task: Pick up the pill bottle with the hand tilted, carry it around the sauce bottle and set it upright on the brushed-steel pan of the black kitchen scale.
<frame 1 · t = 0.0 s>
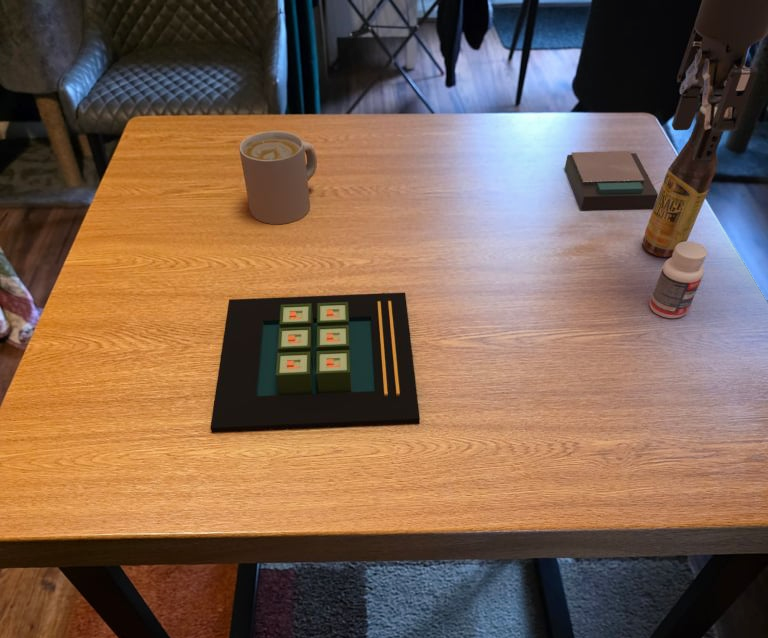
hand: (690, 144, 80), 19 cm above the table, tool pointing down, fingers open, 8 cm apart
scale: (607, 188, 112), on the table
coffee mug: (289, 206, 110), on the table
sushi: (317, 360, 87), on the table
pill bottle: (667, 308, 92), on the table
sauce bottle: (661, 250, 101), on the table
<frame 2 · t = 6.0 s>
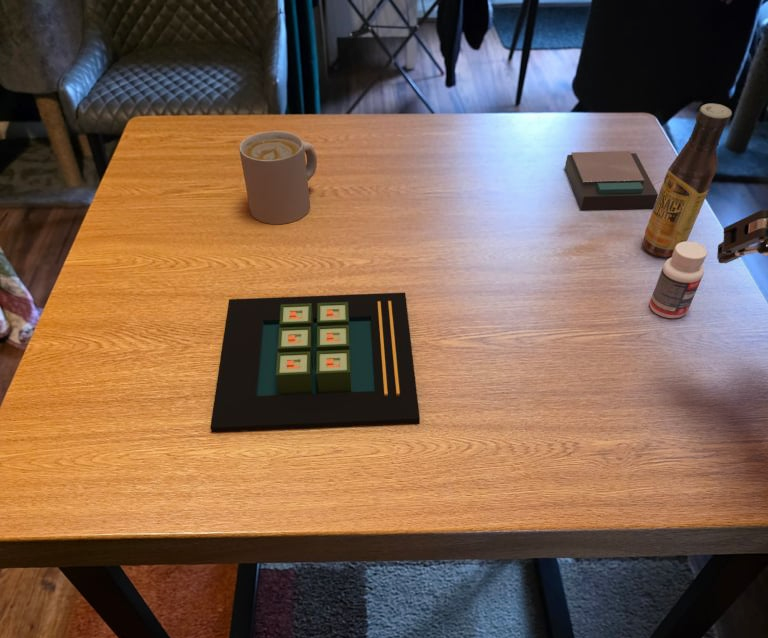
hand: (757, 255, 73), 15 cm above the table, tool tilted 45°, fingers open, 8 cm apart
nothing on the table moved.
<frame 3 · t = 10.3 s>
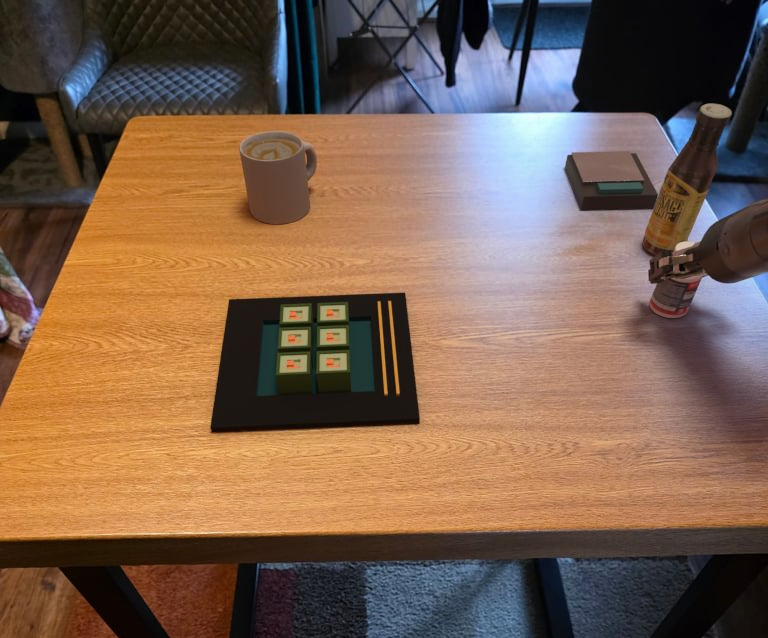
hand: (673, 273, 90), 4 cm above the table, tool tilted 45°, fingers closed on pill bottle, 5 cm apart
pill bottle: (667, 308, 92), on the table, touching gripper
everything else where it was.
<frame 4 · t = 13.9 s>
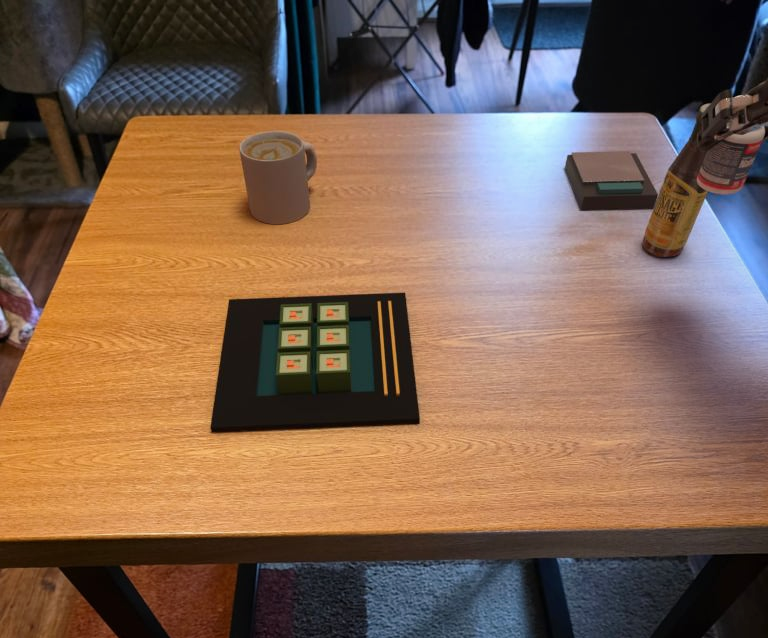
hand: (725, 140, 76), 22 cm above the table, tool tilted 45°, fingers closed on pill bottle, 5 cm apart
pill bottle: (718, 186, 78), point 17 cm above the table, touching gripper
everything else where it was.
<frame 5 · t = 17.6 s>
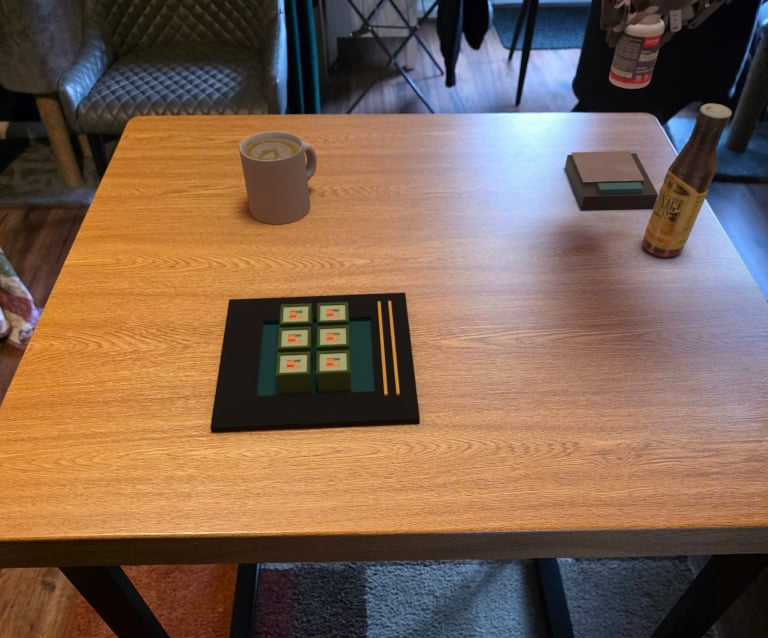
hand: (635, 38, 84), 26 cm above the table, tool tilted 45°, fingers closed on pill bottle, 5 cm apart
pill bottle: (628, 83, 86), point 21 cm above the table, touching gripper
everything else where it was.
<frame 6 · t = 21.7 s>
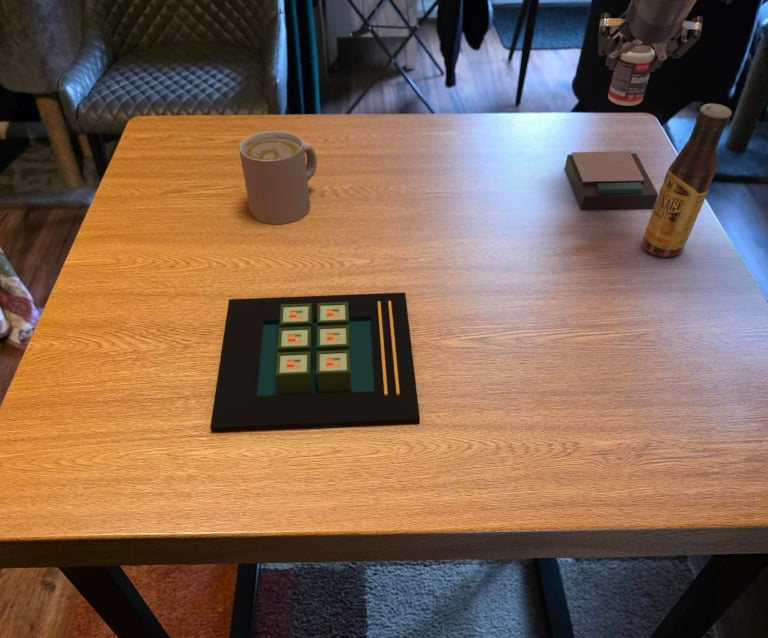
hand: (631, 64, 100), 17 cm above the table, tool tilted 45°, fingers closed on pill bottle, 5 cm apart
pill bottle: (624, 100, 102), point 13 cm above the table, touching gripper
everything else where it was.
when the fingers open (7 cm above the table, at t = 24.9 s): pill bottle stays where it is, resting on scale.
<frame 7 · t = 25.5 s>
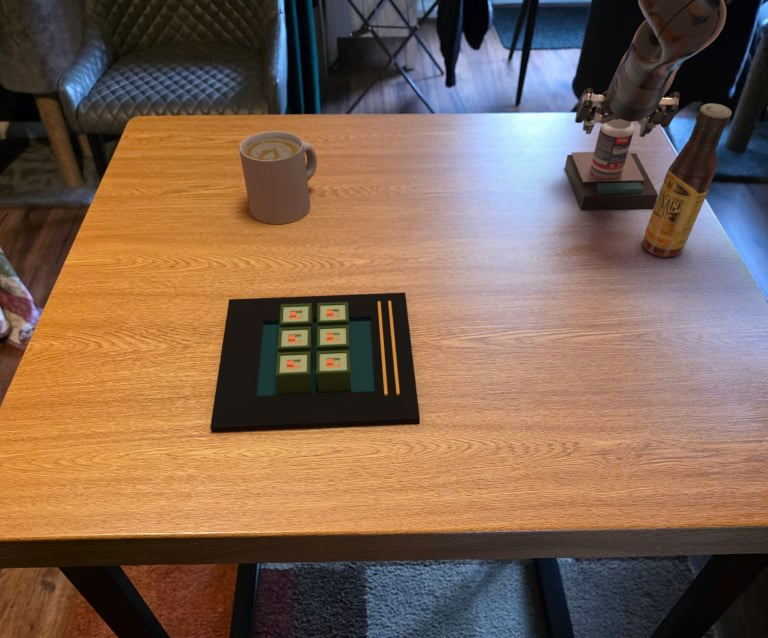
hand: (615, 129, 107), 8 cm above the table, tool tilted 45°, fingers open, 8 cm apart
pill bottle: (607, 167, 110), point 3 cm above the table, touching scale
everything else where it was.
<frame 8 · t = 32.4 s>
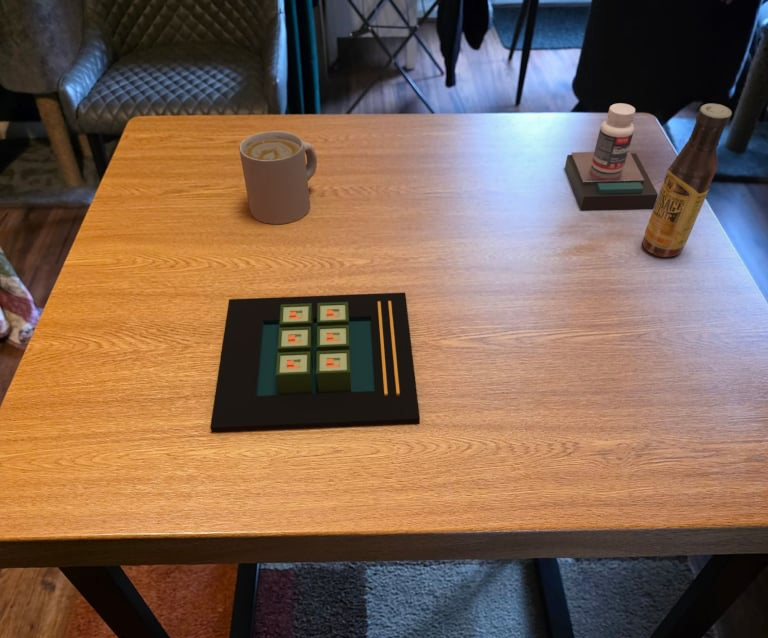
nothing on the table moved.
at the end: pill bottle inside the target area on the scale (0.2 cm from its centre), point 2.8 cm above the scale's base; pill bottle tilted 0°; the gripper is holding nothing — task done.
